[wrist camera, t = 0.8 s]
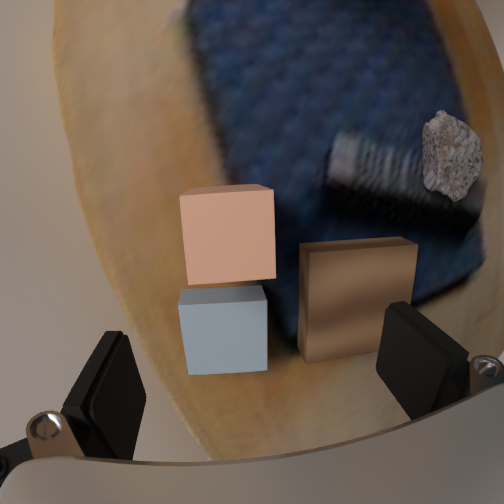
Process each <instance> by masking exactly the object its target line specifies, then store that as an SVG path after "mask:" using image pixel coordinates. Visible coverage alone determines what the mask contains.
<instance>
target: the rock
mask: <svg viewBox="0 0 504 504" xmlns="http://www.w3.org/2000/svg"><path fill="white" fill-rule="evenodd" d="M422 145H423V162H424V163H423V182H424V185H425V187H426V188H427V189H428V190H430V191H434V190H435V191H439V192H441V193H442V194H443V195H446V196H448V197H449V198H450V199H451V200H452V201H453V202H456V201H458V200H459V199H462V198H464V197H465V196H466V195H467V192H468V189H469V188H470V186H471V185H472V184H473V181H475V180H476V179H477V178H478V177H479V176H480V174H481V169H482V167H483V158H482V151H481V141H480V139H479V138H478V136H477V134H476V133H475V132H474V130H472V129H471V128H470V127H469V126H468V125H467V124H465V123H464V122H462V121H459V120H457V119H456V118H455V117H453V116H449V115H448V114H447V113H446V112H445V111H444V110H441V111H438V112H437V113H436V115H435V118H433V119H431V121H430V122H429V123H425V124H424V127H423V133H422Z"/></svg>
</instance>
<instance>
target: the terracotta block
mask: <svg viewBox="0 0 504 504" xmlns="http://www.w3.org/2000/svg"><path fill="white" fill-rule="evenodd" d="M180 207H181V219H182V230H183V241H184V250H185V260H186V269H187V277H188V285H193V284H208V283H222V282H235V281H248V280H261V279H273V278H276V257H275V220H274V190H272V189H269V188H267V187H264V186H261V185H258V184H245V185H227V186H213V187H199V188H192V189H190V190H188V191H187V192H185V193H184V194H182V195H180Z"/></svg>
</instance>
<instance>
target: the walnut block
mask: <svg viewBox="0 0 504 504" xmlns="http://www.w3.org/2000/svg"><path fill="white" fill-rule="evenodd" d="M417 251H418V244H416V243H414V242H411V241H409V240H407V239H404V238H402V237H388V238H372V239H356V240H341V241H326V242H311V243H299V317H298V348H299V350H300V352H301V354H302V357H303V359H304V361H305V363H306V364H308V363H314V362H321V361H327V360H332V359H338V358H343V357H349V356H354V355H359V354H364V353H368V352H373V351H377V350H379V346H380V340H381V334H382V328H383V322H384V315H385V310H386V308H388V307H389V305H390V304H391V303H394V302H399V301H406V302H407V303H408V304H410V303H411V297H412V291H413V284H414V277H415V269H416V260H417Z"/></svg>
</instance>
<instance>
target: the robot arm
mask: <svg viewBox="0 0 504 504" xmlns="http://www.w3.org/2000/svg"><path fill="white" fill-rule="evenodd" d="M468 355H469V352H468V351H467V350H465V349H464V348H463V347H462V346H461V345H459V344H458V343H457V342H456V341H455V340H453V339H452V338H451V337H450V336H448V335H447V334H446V333H445V332H444V331H442V330H441V329H440V328H439V327H437V326H436V325H435V324H434V323H432V322H431V321H430V320H429V319H427V318H426V317H425V316H424V315H422V314H421V313H420V312H419V311H417V310H416V309H415V308H413V307H412V306H411V305H410V304H408V303H407V302H406V301H399V302H394V303H391V304H390V305H389V307H388V308H386V310H385V315H384V322H383V328H382V334H381V340H380V346H379V352H378V357H377V362H376V371H377V373H378V375H379V376H380V377H381V379H382V380H383V382H384V383H385V384H386V386H387V387H388V388H389V390H390V391H391V393H392V394H393V395H394V397H395V398H396V399H397V401H398V402H399V404H400V405H401V406H402V408H403V409H404V411H405V412H406V413H407V415H408V416H409V418H410V419H411V421H408V422H406V423H403V424H400V425H397V426H394V427H391V428H388V429H385V430H382V431H379V432H376V433H373V434H369V435H366V436H363V437H359V438H355V439H352V440H348V441H344V442H340V443H336V444H332V445H328V446H323V447H319V448H314V449H309V450H304V451H298V452H293V453H287V454H280V455H274V456H266V457H258V458H249V459H239V460H227V461H209V462H152V461H133V460H132V459H133V455H134V450H135V445H136V441H137V436H138V432H139V428H140V423H141V419H142V416H143V412H144V407H145V403H146V393H145V389H144V386H143V384H142V380H141V377H140V374H139V371H138V368H137V365H136V362H135V358H134V355H133V352H132V349H131V345H130V341H129V338H128V336H127V335H124V334H123V333H122V332H121V331H106V332H105V333H104V335H103V336H102V338H101V340H100V341H99V343H98V344H97V346H96V348H95V349H94V351H93V353H92V355H91V356H90V358H89V359H88V361H87V363H86V365H85V366H84V368H83V370H82V371H81V373H80V375H79V377H78V378H77V380H76V382H75V384H74V386H73V387H72V389H71V391H70V393H69V395H68V397H67V398H66V400H65V402H64V404H63V408H62V410H61V412H60V413H59V412H56V411H44V412H40V413H38V414H36V415H35V416H33V417H32V418H31V419H30V421H29V422H28V423H27V426H26V435H27V438H24V439H22V440H20V441H18V442H15V443H13V444H10V445H8V446H6V447H3V448H1V449H0V504H504V365H503V364H502V362H501V361H499V360H498V359H497V358H495V357H493V356H489V355H478V356H475V357H473V358H472V359H471V361H470V363H469V362H468V361H467V358H468Z"/></svg>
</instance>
